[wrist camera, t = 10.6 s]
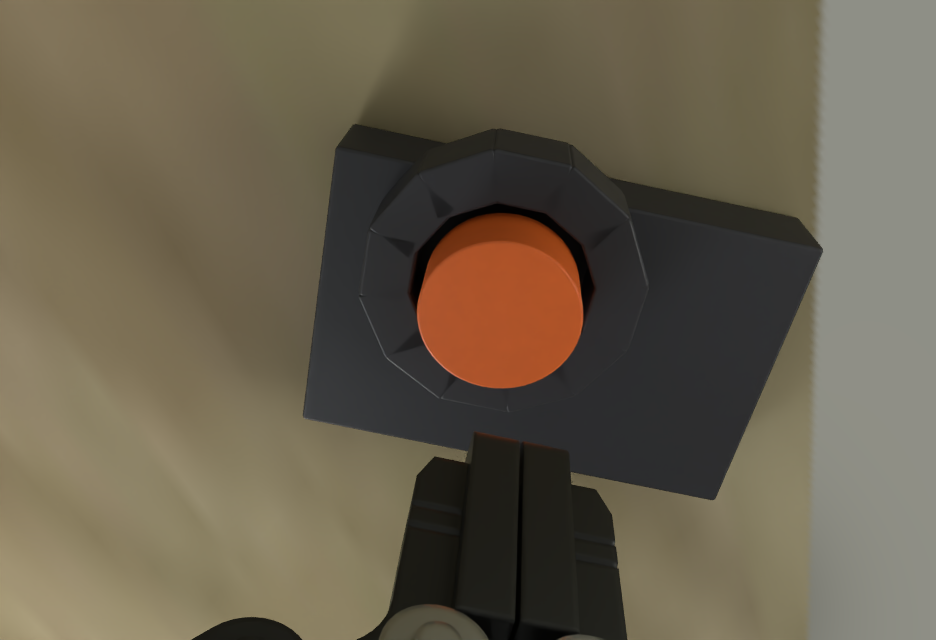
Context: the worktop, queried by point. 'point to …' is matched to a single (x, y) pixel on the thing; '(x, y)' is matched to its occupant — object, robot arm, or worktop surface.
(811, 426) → the worktop surface
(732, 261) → the button box
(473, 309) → the button
